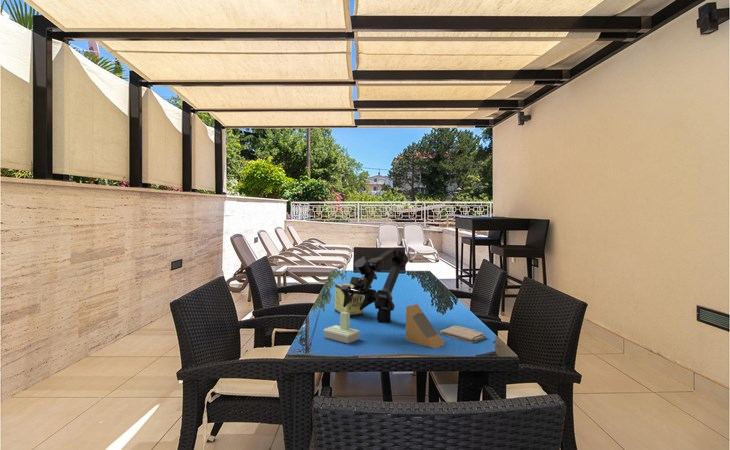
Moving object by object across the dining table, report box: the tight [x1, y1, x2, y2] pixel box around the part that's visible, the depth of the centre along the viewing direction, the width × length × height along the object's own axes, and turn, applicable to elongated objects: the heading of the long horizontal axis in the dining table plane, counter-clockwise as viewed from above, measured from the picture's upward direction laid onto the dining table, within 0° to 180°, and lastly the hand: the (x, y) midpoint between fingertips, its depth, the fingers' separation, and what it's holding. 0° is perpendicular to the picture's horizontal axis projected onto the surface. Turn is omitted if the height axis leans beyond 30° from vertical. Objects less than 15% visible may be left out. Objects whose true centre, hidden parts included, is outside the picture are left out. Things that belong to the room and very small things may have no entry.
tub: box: [323, 331, 360, 345], centre depth 169 cm, size 8×13×3 cm, turn 55°
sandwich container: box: [405, 303, 446, 349], centre depth 166 cm, size 9×15×15 cm, turn 47°
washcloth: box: [439, 325, 487, 344], centre depth 175 cm, size 12×18×3 cm, turn 45°
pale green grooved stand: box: [322, 312, 361, 337], centre depth 169 cm, size 8×13×8 cm, turn 55°
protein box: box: [334, 282, 365, 318], centre depth 213 cm, size 10×16×16 cm
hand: (351, 308), depth 175 cm, fingers open, 9 cm apart
